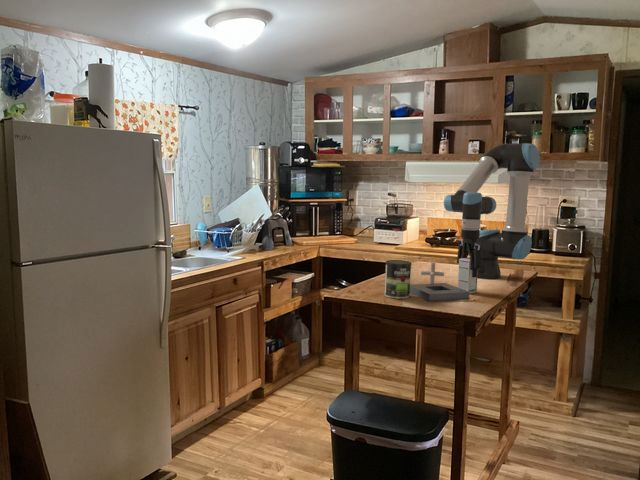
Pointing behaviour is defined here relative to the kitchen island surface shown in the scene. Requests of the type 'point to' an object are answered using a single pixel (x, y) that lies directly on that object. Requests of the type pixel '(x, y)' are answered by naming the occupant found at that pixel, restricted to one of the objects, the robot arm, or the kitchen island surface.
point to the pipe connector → (432, 273)
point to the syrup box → (465, 276)
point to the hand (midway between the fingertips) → (467, 282)
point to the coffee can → (397, 279)
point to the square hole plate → (438, 292)
